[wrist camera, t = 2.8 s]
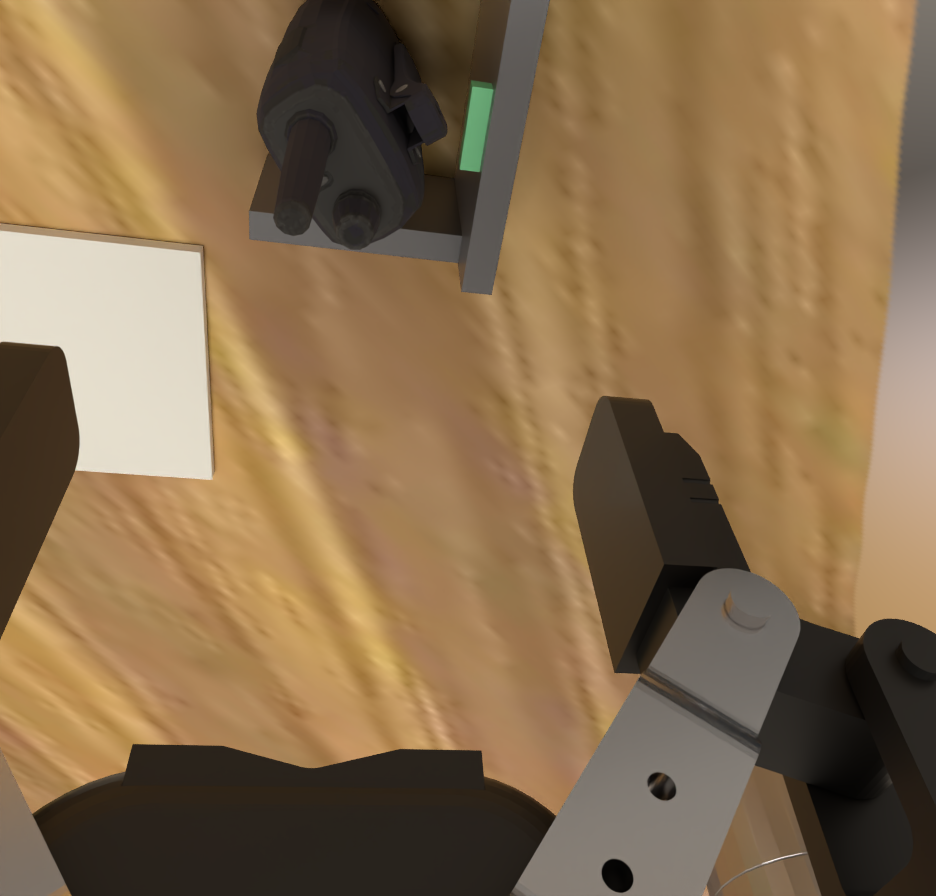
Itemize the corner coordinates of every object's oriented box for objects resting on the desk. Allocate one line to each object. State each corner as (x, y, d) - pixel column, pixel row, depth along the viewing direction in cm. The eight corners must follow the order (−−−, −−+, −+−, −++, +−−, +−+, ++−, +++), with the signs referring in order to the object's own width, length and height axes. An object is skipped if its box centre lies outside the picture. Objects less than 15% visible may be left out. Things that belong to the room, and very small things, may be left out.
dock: (526, -93, 26) (560, -56, 21) (475, 206, 32) (491, 294, 27) (268, -141, 25) (233, -114, 19) (267, 180, 31) (240, 267, 26)
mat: (202, 245, 33) (200, 252, 32) (214, 471, 40) (212, 479, 40) (-188, 202, 30) (-197, 209, 30) (-99, 449, 38) (-105, 457, 37)
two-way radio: (271, 6, 27) (180, 183, 16) (387, -64, 26) (380, 72, 15) (357, 153, 31) (334, 388, 19) (463, 96, 30) (506, 308, 18)
